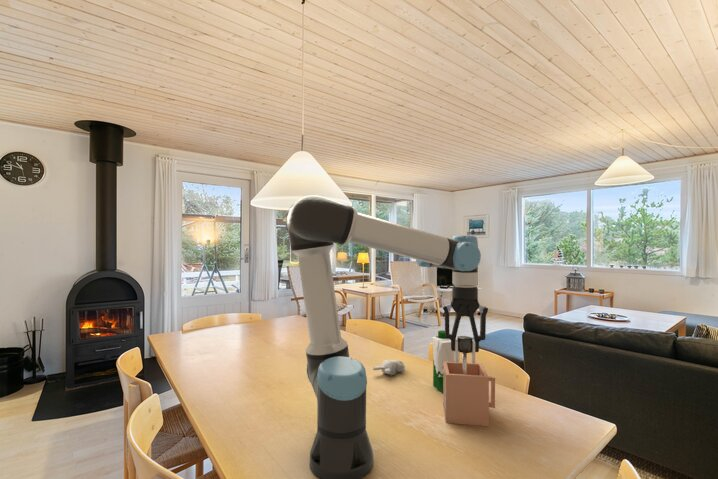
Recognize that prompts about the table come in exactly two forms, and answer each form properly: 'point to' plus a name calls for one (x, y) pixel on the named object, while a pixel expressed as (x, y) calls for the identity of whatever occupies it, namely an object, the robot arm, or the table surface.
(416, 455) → the table surface
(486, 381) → the square pink mug
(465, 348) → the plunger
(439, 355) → the soya milk
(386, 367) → the bunny figurine
